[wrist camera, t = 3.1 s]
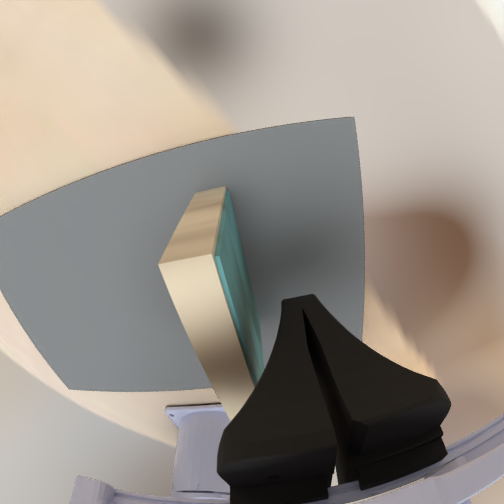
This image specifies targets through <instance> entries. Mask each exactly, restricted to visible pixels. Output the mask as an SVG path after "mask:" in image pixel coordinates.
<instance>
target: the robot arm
mask: <svg viewBox="0 0 504 504" xmlns="http://www.w3.org/2000/svg"><path fill="white" fill-rule="evenodd" d="M450 407H451V401H450V399H449V397H448V395H447V394H446V392H445V390H444V389H443V388H442V386H441V385H440V384H439V382H438V381H437V380H436V379H433V378H430V377H427V376H424V375H422V374H419V373H416V372H413V371H411V370H409V369H407V368H404V367H402V366H400V365H398V364H396V363H395V362H393V361H391V360H389V359H387V358H385V357H384V356H382V355H380V354H379V353H377V352H376V351H374V350H373V349H371V348H370V347H368V346H367V345H366V344H364V343H363V342H362V341H360V340H359V339H358V338H357V337H355V336H354V335H353V334H352V333H351V332H349V331H348V330H347V329H346V328H345V327H344V326H343V325H342V324H341V323H340V322H339V321H338V320H337V319H336V318H335V317H334V316H333V315H332V314H331V313H330V312H329V311H328V310H327V309H326V308H325V307H324V305H323V304H322V303H321V302H320V301H319V299H318V298H317V297H316V295H314V294H308V295H303V296H298V297H293V298H288V299H283V300H282V301H281V317H280V324H279V328H278V332H277V337H276V340H275V343H274V346H273V349H272V352H271V355H270V358H269V360H268V362H267V365H266V367H265V369H264V371H263V373H262V375H261V377H260V379H259V381H258V383H257V385H256V387H255V388H254V390H253V392H252V393H251V395H250V396H249V398H248V399H247V401H246V402H245V404H244V405H243V407H242V408H241V409H240V411H239V412H238V413H237V414H236V416H235V417H234V418H233V419H232V420H231V421H230V419H229V417H228V415H227V413H226V412H225V410H224V408H223V406H222V404H216V405H203V406H185V407H166V408H165V413H166V414H167V415H168V417H169V418H170V419H171V420H172V422H173V423H174V424H175V425H176V427H177V428H178V429H179V431H178V439H177V446H176V455H175V463H174V472H173V481H172V490H171V494H170V497H164V496H156V495H148V494H141V493H134V492H128V491H123V490H118V489H114V488H113V487H112V486H110V485H109V484H107V483H105V482H102V481H99V480H96V479H91V478H87V477H84V476H80V475H79V476H77V477H76V481H75V485H74V489H73V493H72V497H71V501H70V504H346V503H350V502H354V501H358V500H361V499H365V498H368V497H371V496H375V495H378V494H381V493H384V492H387V491H390V490H393V489H395V488H398V487H401V486H403V485H406V484H409V483H411V482H414V481H416V480H418V479H421V478H423V477H425V476H426V477H425V478H424V480H422V481H419V482H417V483H414V484H412V485H409V486H407V487H404V488H401V489H399V490H396V491H393V492H390V493H388V494H385V495H381V496H379V497H375V498H372V499H369V500H366V501H362V502H358V503H355V504H471V501H470V498H471V497H473V496H474V495H476V494H478V493H479V492H481V491H482V490H484V489H486V488H487V487H489V486H490V485H491V484H493V483H495V482H496V481H497V480H499V479H500V478H501V477H503V476H504V414H502V415H501V416H499V417H498V418H496V419H495V420H493V421H491V422H490V423H488V424H487V425H485V426H483V427H482V428H480V429H478V430H477V431H475V432H473V433H471V434H470V435H468V436H466V437H464V438H462V439H461V440H459V441H457V442H455V443H453V444H451V445H449V446H447V447H445V445H444V443H443V441H442V438H441V437H442V436H443V431H442V429H441V427H440V425H441V423H442V422H443V420H444V418H445V417H446V416H447V414H448V412H449V410H450ZM335 466H336V472H337V478H338V485H337V486H332V487H331V481H332V474H334V469H335Z"/></svg>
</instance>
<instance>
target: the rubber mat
mask: <svg viewBox="0 0 504 504" xmlns="http://www.w3.org/2000/svg"><path fill="white" fill-rule="evenodd" d="M359 160H360V159H359V151H358V142H357V133H356V126H355V119H354V117H343V118H333V119H324V120H316V121H308V122H301V123H293V124H287V125H281V126H274V127H268V128H263V129H257V130H252V131H247V132H242V133H237V134H232V135H227V136H223V137H218V138H214V139H210V140H205V141H201V142H197V143H193V144H189V145H186V146H182V147H178V148H174V149H171V150H167V151H164V152H160V153H157V154H154V155H150V156H147V157H144V158H141V159H137V160H134V161H131V162H128V163H125V164H122V165H119V166H116V167H113V168H111V169H108V170H105V171H102V172H100V173H97V174H94V175H91V176H89V177H86V178H84V179H81V180H79V181H76V182H74V183H71V184H69V185H66V186H64V187H62V188H59V189H57V190H55V191H52V192H50V193H48V194H45V195H43V196H41V197H39V198H37V199H35V200H32V201H30V202H28V203H26V204H24V205H22V206H20V207H18V208H16V209H14V210H12V211H10V212H8V213H6V214H4V215H2V216H0V290H1V292H2V294H3V296H4V297H5V299H6V301H7V303H8V304H9V306H10V308H11V310H12V311H13V313H14V315H15V316H16V318H17V319H18V321H19V323H20V324H21V326H22V327H23V329H24V330H25V332H26V333H27V335H28V336H29V338H30V339H31V341H32V342H33V344H34V345H35V347H36V348H37V349H38V351H39V352H40V354H41V355H42V356H43V358H44V359H45V360H46V362H47V363H48V364H49V366H50V367H51V368H52V369H53V371H54V372H55V373H56V374H57V376H58V377H59V378H60V379H61V381H62V382H63V383H64V384H65V385H66V386H67V388H68V389H71V390H86V391H110V392H152V391H177V390H192V389H205V388H213V387H212V385H211V383H210V381H209V379H208V377H207V375H206V373H205V371H204V369H203V367H202V365H201V363H200V361H199V359H198V357H197V354H196V352H195V350H194V348H193V346H192V344H191V342H190V339H189V337H188V335H187V333H186V331H185V328H184V326H183V324H182V322H181V319H180V317H179V315H178V312H177V310H176V308H175V305H174V303H173V301H172V298H171V296H170V293H169V291H168V288H167V286H166V283H165V281H164V278H163V276H162V273H161V271H160V268H159V266H158V263H159V261H160V259H161V257H162V255H163V253H164V251H165V249H166V247H167V245H168V243H169V241H170V239H171V237H172V235H173V233H174V231H175V230H176V228H177V226H178V224H179V222H180V220H181V218H182V216H183V214H184V212H185V211H186V209H187V207H188V205H189V203H190V201H191V199H192V198H193V196H194V194H195V193H197V192H201V191H205V190H210V189H214V188H219V187H223V186H225V187H226V191H227V190H229V193H230V197H231V202H232V206H233V210H234V214H235V219H236V223H237V227H238V231H239V236H240V240H241V244H242V248H243V253H244V257H245V261H246V265H247V269H248V274H249V278H250V282H251V286H252V290H253V294H254V299H255V303H256V307H257V311H258V315H259V319H260V328H261V340H262V351H263V363H264V369H265V367H266V365H267V362H268V360H269V358H270V355H271V352H272V349H273V346H274V343H275V340H276V337H277V332H278V328H279V324H280V317H281V301H282V300H283V299H288V298H293V297H298V296H303V295H308V294H314V295H316V297H317V298H318V299H319V301H320V302H321V303H322V304H323V305H324V307H325V308H326V309H327V310H328V311H329V312H330V313H331V314H332V315H333V316H334V317H335V318H336V319H337V320H338V321H339V322H340V323H341V324H342V325H343V326H344V327H345V328H346V329H347V330H348V331H349V332H351V333H352V334H353V335H354V336H355V337H357V338H358V339H359V340H360V341H362V330H363V313H364V283H365V251H364V250H365V245H364V214H363V196H362V182H361V171H360V161H359Z"/></svg>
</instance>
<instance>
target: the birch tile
mask: <svg viewBox="0 0 504 504" xmlns="http://www.w3.org/2000/svg"><path fill="white" fill-rule="evenodd" d="M158 266H159V268H160V271H161V273H162V276H163V278H164V281H165V283H166V286H167V288H168V291H169V293H170V296H171V298H172V301H173V303H174V305H175V308H176V310H177V312H178V315H179V317H180V319H181V322H182V324H183V326H184V328H185V331H186V333H187V335H188V337H189V339H190V342H191V344H192V346H193V348H194V350H195V352H196V354H197V357H198V359H199V361H200V363H201V365H202V367H203V369H204V371H205V373H206V375H207V377H208V379H209V381H210V383H211V385H212V387H213V389H214V391H215V393H216V395H217V397H218V399H219V400H220V402H221V404H222V406H223V408H224V410H225V412H226V413H227V415H228V417H229V419H230V421H231V420H232V419H233V418H234V417H235V416H236V414H237V413H238V412H239V411H240V409H241V408H242V407H243V405H244V404H245V402H246V401H247V399H248V398H249V396H250V395H251V393H252V392H253V390H254V388H255V387H256V385H257V383H258V381H259V379H260V377H261V375H262V373H263V371H264V363H263V351H262V340H261V328H260V319H259V315H258V311H257V307H256V303H255V299H254V294H253V290H252V286H251V282H250V278H249V274H248V269H247V265H246V261H245V257H244V253H243V248H242V244H241V240H240V236H239V231H238V227H237V223H236V219H235V214H234V210H233V206H232V202H231V197H230V193H229V190H227V191H226V187H225V186H223V187H219V188H214V189H210V190H205V191H201V192H197V193H195V194H194V196H193V198H192V199H191V201H190V203H189V205H188V207H187V209H186V211H185V212H184V214H183V216H182V218H181V220H180V222H179V224H178V226H177V228H176V230H175V231H174V233H173V235H172V237H171V239H170V241H169V243H168V245H167V247H166V249H165V251H164V253H163V255H162V257H161V259H160V261H159V263H158Z"/></svg>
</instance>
